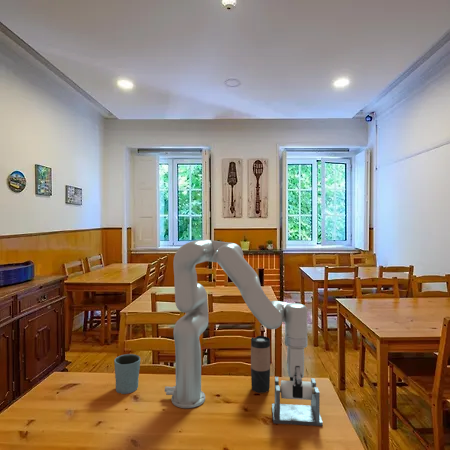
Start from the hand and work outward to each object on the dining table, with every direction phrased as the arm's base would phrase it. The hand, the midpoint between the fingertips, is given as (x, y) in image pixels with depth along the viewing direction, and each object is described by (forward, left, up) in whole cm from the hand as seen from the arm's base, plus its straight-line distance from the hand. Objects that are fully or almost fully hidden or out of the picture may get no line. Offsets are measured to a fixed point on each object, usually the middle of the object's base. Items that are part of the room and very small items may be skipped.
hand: (295, 390), depth 116 cm
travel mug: (-12, +18, -9) cm, 23 cm away
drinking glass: (-65, +13, -9) cm, 67 cm away
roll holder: (0, 0, -9) cm, 9 cm away
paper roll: (0, 0, -3) cm, 3 cm away
